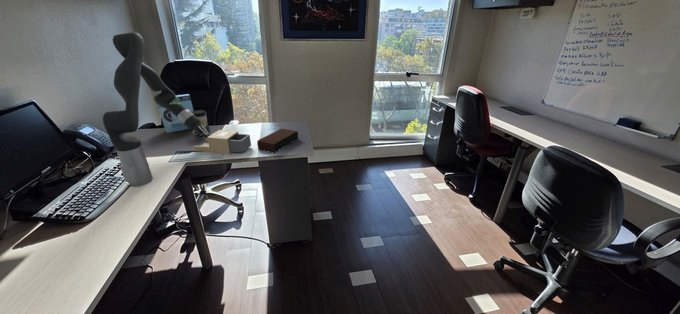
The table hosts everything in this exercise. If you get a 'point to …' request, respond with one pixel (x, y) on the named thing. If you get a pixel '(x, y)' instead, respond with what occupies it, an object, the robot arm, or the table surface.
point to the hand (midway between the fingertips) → (212, 140)
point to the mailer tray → (239, 142)
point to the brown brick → (277, 140)
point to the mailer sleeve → (217, 142)
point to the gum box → (170, 119)
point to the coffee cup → (201, 116)
